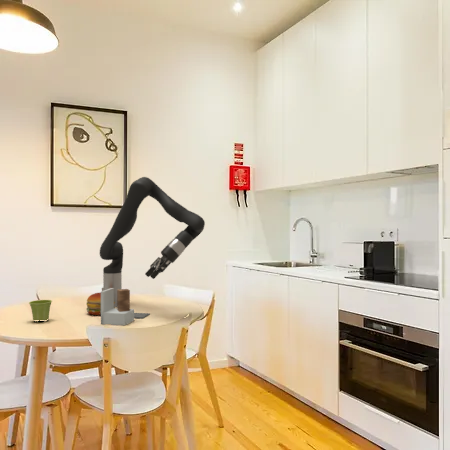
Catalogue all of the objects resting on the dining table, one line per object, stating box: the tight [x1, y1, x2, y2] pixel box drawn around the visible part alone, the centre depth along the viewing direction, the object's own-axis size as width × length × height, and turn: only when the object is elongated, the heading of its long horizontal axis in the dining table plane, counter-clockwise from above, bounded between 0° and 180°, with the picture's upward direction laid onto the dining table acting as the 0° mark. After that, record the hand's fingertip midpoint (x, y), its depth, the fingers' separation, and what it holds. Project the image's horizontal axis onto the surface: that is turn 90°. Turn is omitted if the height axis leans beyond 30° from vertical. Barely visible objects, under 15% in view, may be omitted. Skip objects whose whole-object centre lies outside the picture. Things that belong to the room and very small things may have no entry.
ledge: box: [100, 288, 135, 326], centre depth 196 cm, size 11×10×14 cm
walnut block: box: [117, 288, 131, 312], centre depth 197 cm, size 4×4×9 cm
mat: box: [134, 312, 151, 319], centre depth 208 cm, size 9×9×1 cm
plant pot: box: [28, 299, 53, 321], centre depth 197 cm, size 9×9×9 cm
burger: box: [86, 292, 116, 316], centre depth 214 cm, size 13×14×10 cm
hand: (149, 276), depth 201 cm, fingers open, 8 cm apart
